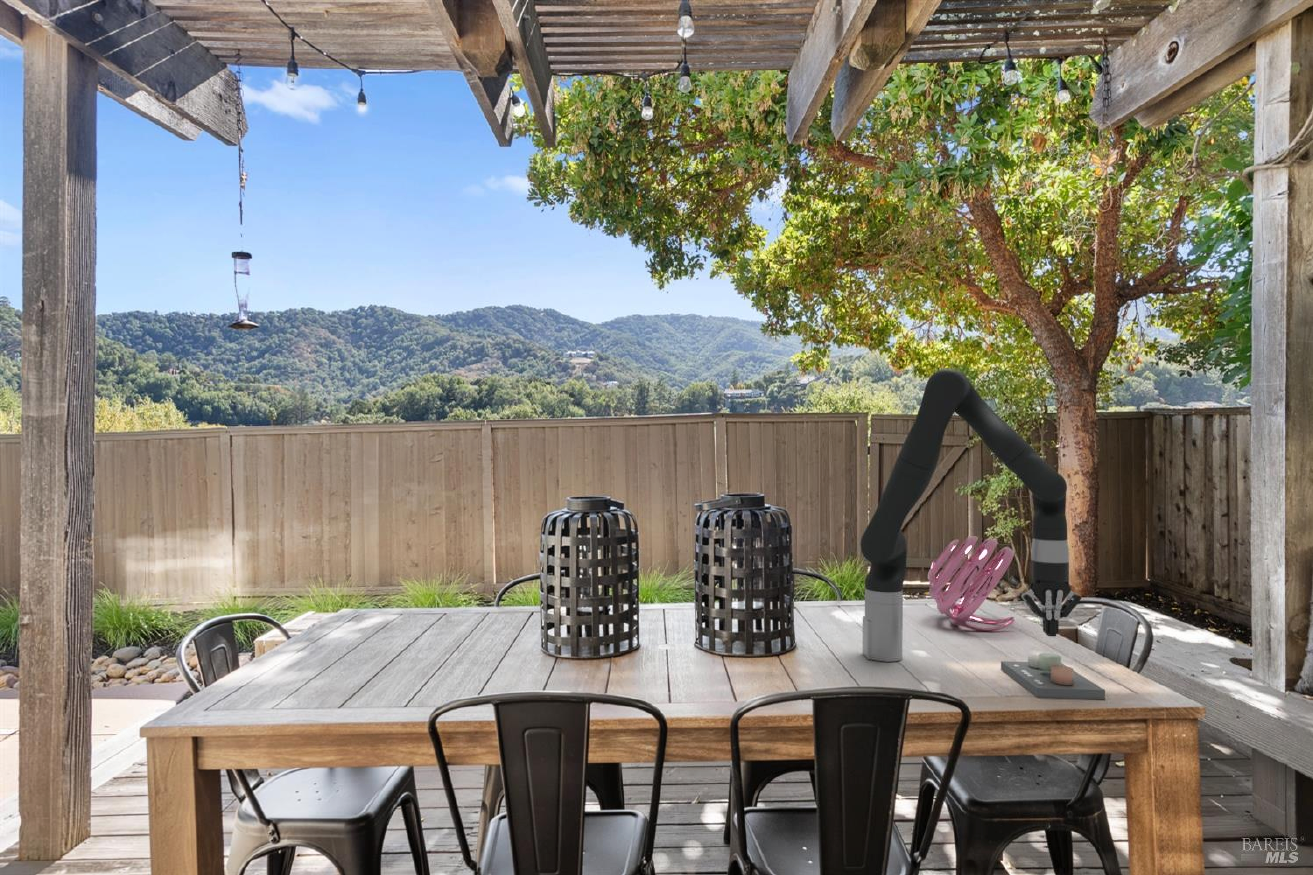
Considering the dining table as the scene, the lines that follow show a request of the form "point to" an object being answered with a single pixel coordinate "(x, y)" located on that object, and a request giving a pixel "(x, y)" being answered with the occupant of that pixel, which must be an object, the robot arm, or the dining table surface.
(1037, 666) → the cream button
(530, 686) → the dining table surface
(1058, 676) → the terracotta button
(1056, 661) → the sage button
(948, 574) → the spiral basket
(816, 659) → the dining table surface
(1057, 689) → the charcoal panel
